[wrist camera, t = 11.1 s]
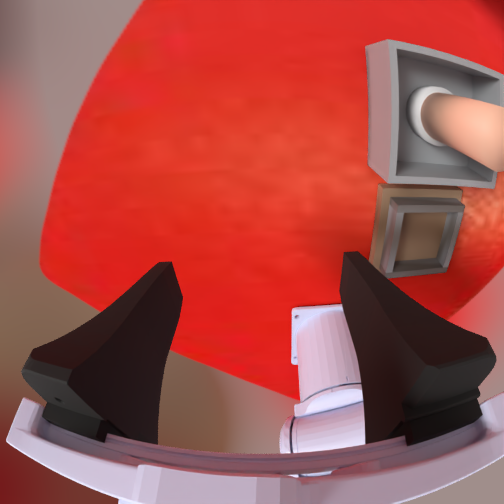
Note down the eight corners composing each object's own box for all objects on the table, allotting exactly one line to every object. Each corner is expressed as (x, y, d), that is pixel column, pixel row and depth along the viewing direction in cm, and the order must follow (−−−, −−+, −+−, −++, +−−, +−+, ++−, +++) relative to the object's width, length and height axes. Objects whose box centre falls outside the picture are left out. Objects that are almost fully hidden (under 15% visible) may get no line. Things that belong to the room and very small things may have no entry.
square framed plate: (438, 262, 23) (449, 277, 21) (367, 268, 24) (375, 285, 22) (456, 186, 19) (472, 197, 17) (378, 183, 20) (390, 196, 17)
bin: (467, 170, 18) (494, 188, 15) (367, 164, 19) (387, 183, 16) (472, 70, 13) (503, 75, 10) (365, 46, 14) (387, 39, 11)
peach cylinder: (452, 91, 14) (525, 109, 7) (450, 144, 17) (517, 181, 10) (405, 81, 15) (476, 90, 8) (405, 138, 17) (469, 175, 10)
